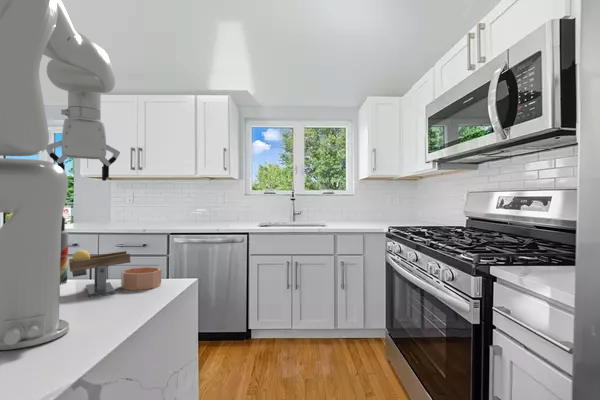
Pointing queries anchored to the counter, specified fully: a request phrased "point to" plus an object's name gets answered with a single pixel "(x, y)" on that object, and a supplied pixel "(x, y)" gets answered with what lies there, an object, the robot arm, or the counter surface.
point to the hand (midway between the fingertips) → (84, 179)
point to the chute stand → (100, 283)
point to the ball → (81, 255)
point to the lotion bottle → (64, 253)
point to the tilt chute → (98, 262)
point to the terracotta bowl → (140, 278)
